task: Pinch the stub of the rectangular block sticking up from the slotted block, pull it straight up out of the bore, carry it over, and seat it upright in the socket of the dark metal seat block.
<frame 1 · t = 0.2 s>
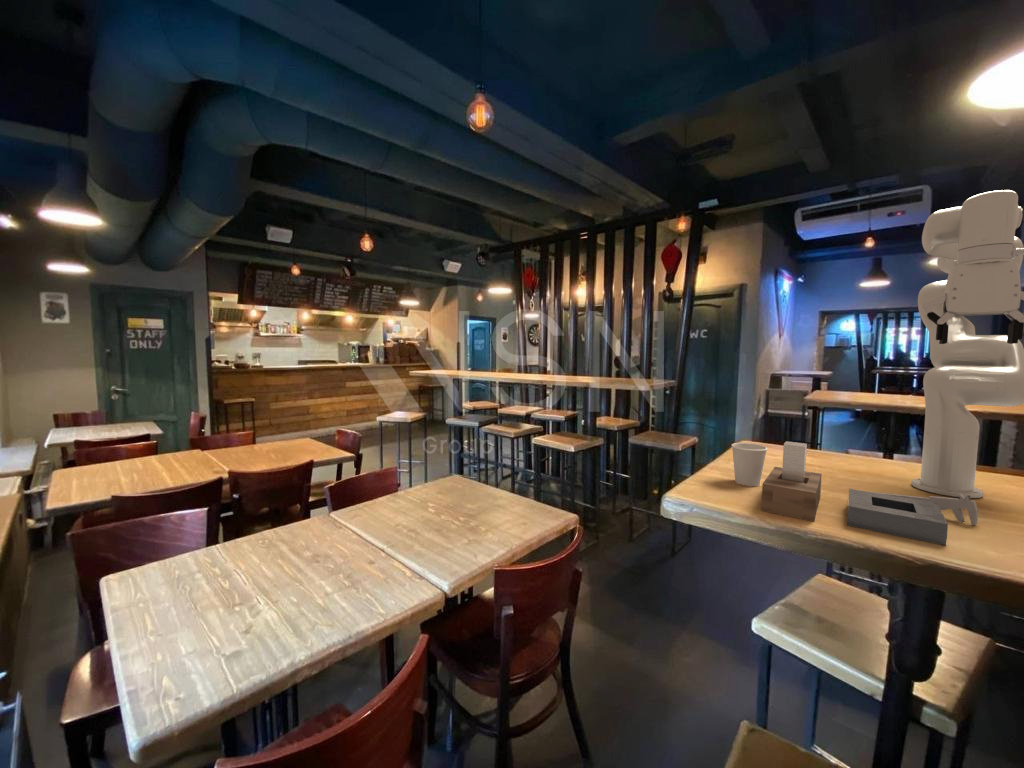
hand: (976, 343, 86), 37 cm above the table, tool pointing down, fingers open, 9 cm apart
rectangular block: (793, 474, 96), in the slotted block
slotted block: (791, 504, 96), on the table
caliper: (911, 510, 94), on the table
seat block: (891, 523, 86), on the table
dixie cup: (747, 483, 112), on the table
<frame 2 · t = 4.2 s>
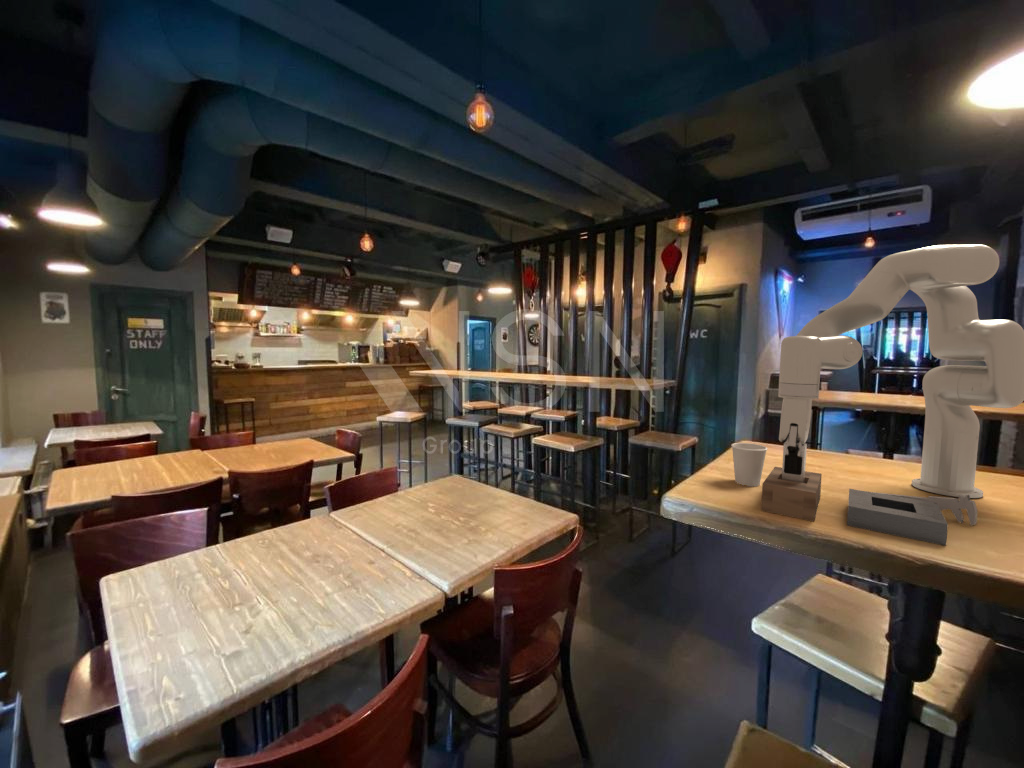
hand: (793, 470, 96), 8 cm above the table, tool pointing down, fingers closed on rectangular block, 4 cm apart
rectangular block: (793, 474, 96), in the slotted block, touching gripper
everything else where it was.
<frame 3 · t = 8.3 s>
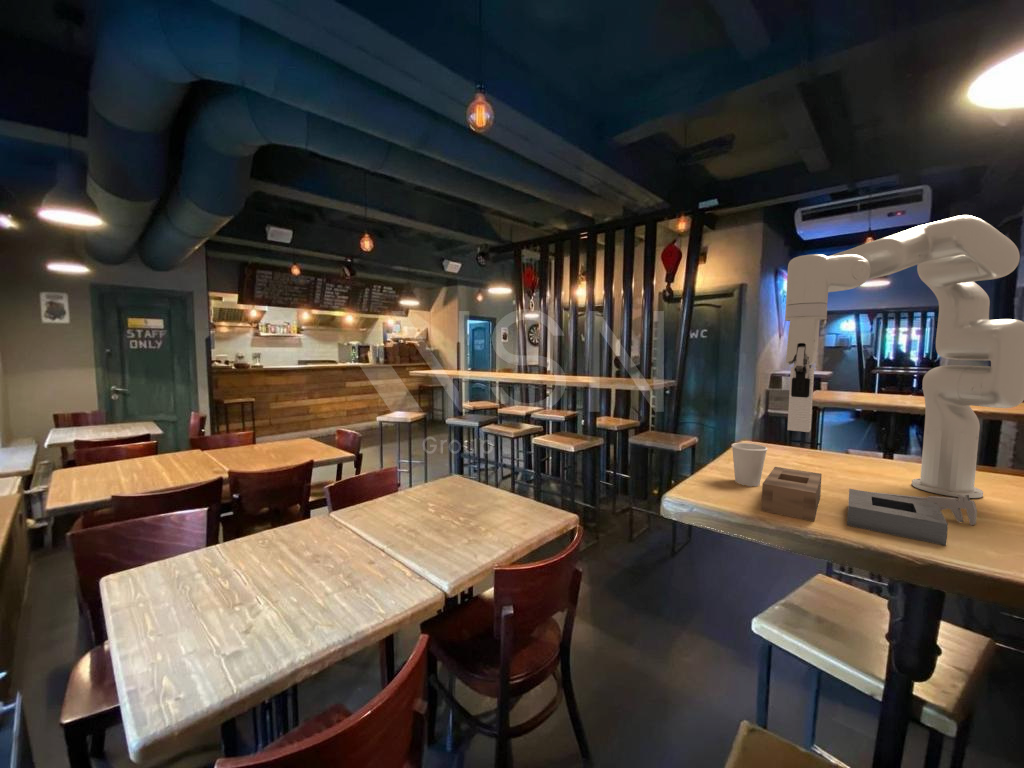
hand: (801, 395, 94), 25 cm above the table, tool pointing down, fingers closed on rectangular block, 4 cm apart
rectangular block: (800, 398, 94), point 24 cm above the table, touching gripper
everything else where it was.
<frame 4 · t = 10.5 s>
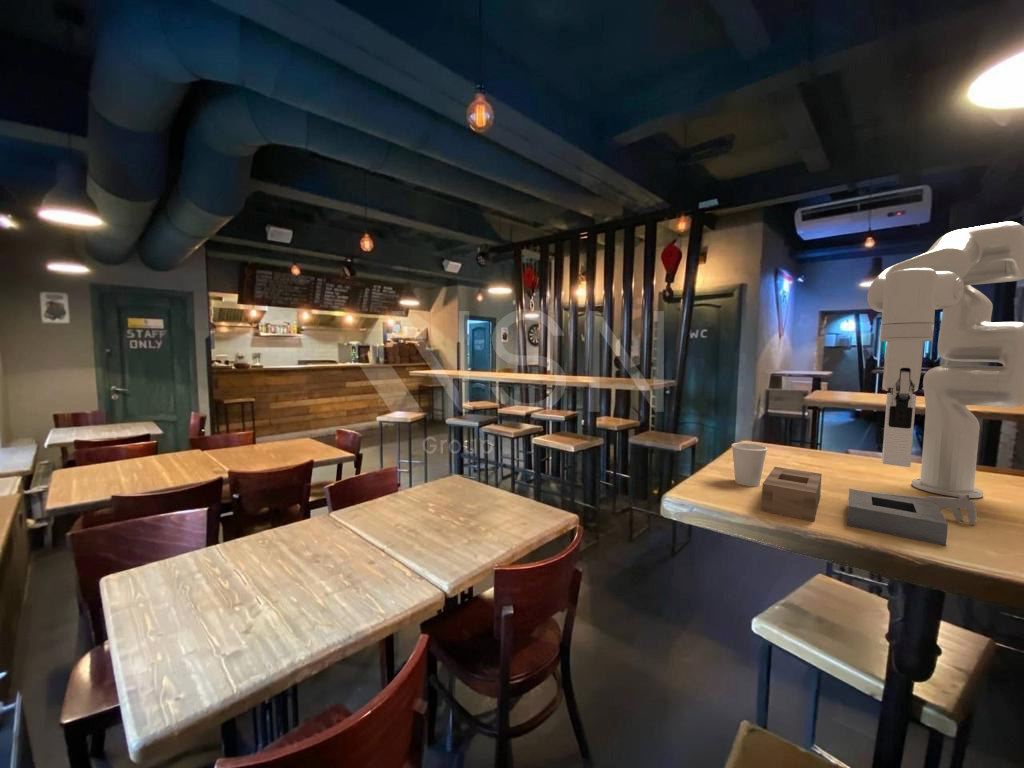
hand: (898, 425, 84), 20 cm above the table, tool pointing down, fingers closed on rectangular block, 4 cm apart
rectangular block: (898, 429, 84), point 20 cm above the table, touching gripper
everything else where it was.
when the fingers open (10 cm above the table, at t = 12.5 s): rectangular block drops 1 cm, resting on seat block.
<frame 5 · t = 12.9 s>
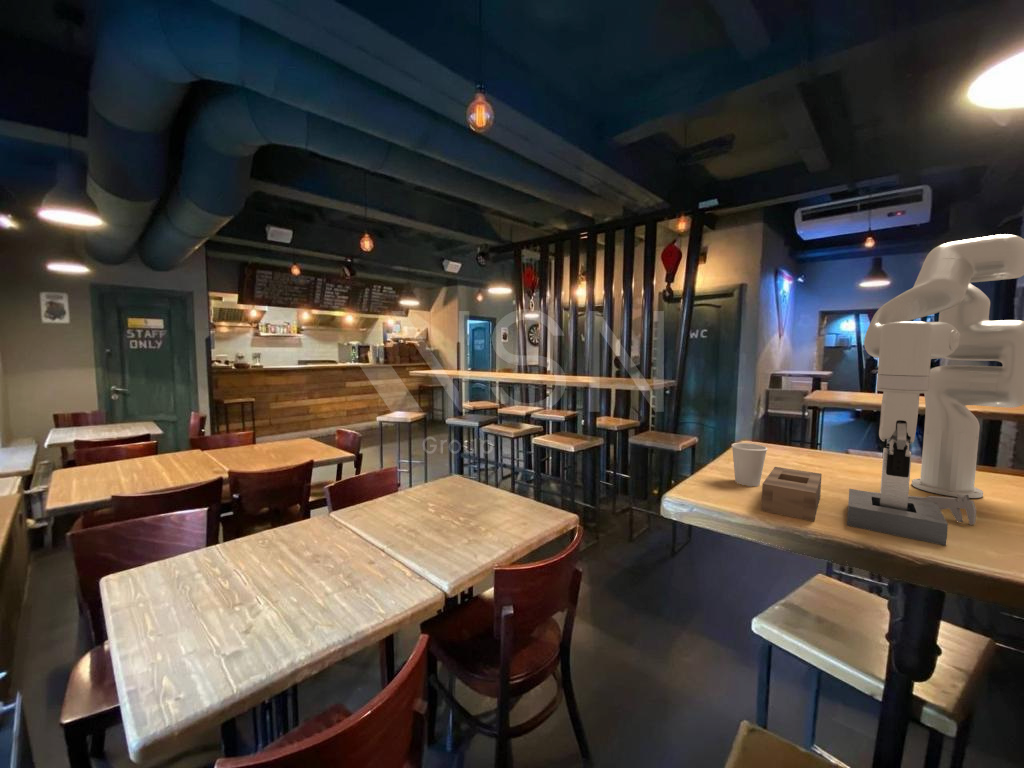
hand: (895, 470, 85), 11 cm above the table, tool pointing down, fingers open, 8 cm apart
rectangular block: (894, 485, 85), in the seat block, point 8 cm above the table
everything else where it was.
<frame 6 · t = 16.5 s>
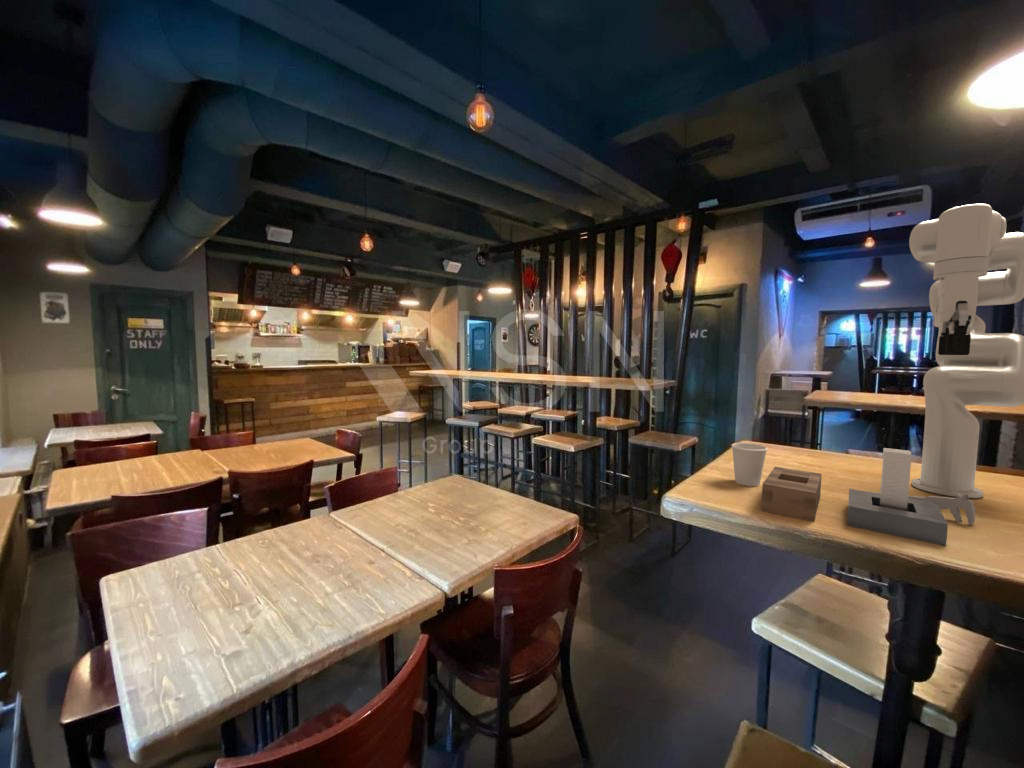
hand: (952, 354, 87), 34 cm above the table, tool pointing down, fingers open, 9 cm apart
nothing on the table moved.
at the end: rectangular block 0.1 cm off-centre on the seat block, point 8.0 cm above the seat block's base; rectangular block tilted 0°; the gripper is holding nothing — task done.
